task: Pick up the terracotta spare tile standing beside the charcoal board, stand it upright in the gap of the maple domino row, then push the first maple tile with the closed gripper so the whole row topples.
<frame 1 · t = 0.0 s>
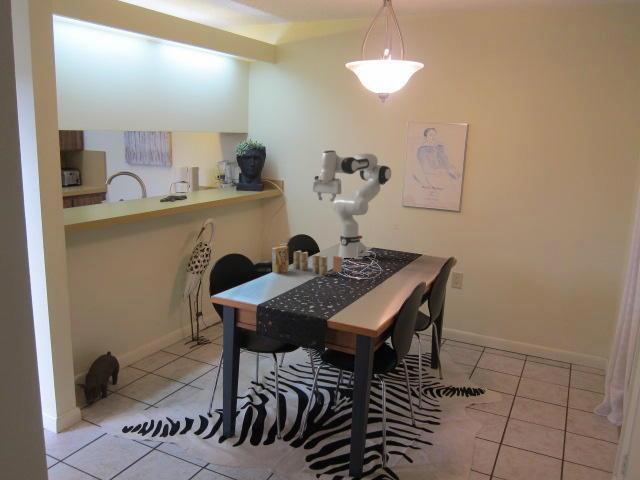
hand: (326, 200, 309), 39 cm above the table, tool pointing down, fingers open, 8 cm apart
spare tile: (337, 273, 294), on the table
slate board: (310, 273, 294), on the table
tile 4: (316, 272, 291), point 1 cm above the table, touching slate board
tile 1: (297, 268, 301), point 1 cm above the table, touching slate board
tile 5: (323, 274, 288), point 1 cm above the table, touching slate board
candy box: (280, 273, 294), on the table
tile 2: (303, 269, 297), point 1 cm above the table, touching slate board
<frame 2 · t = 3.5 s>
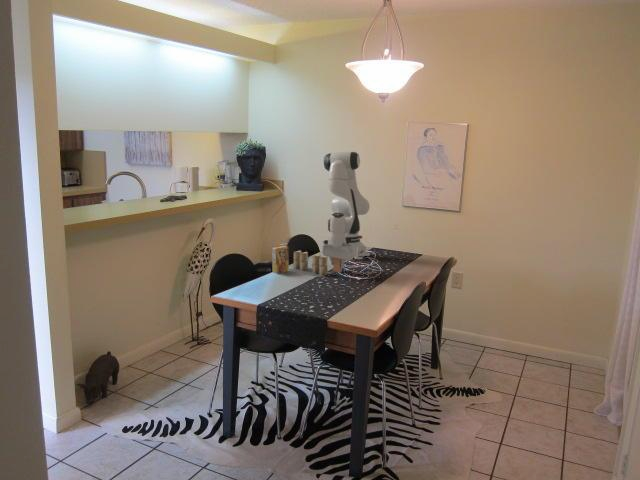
hand: (337, 265, 293), 5 cm above the table, tool pointing down, fingers closed on spare tile, 5 cm apart
spare tile: (337, 273, 294), on the table, touching gripper
everything else where it was.
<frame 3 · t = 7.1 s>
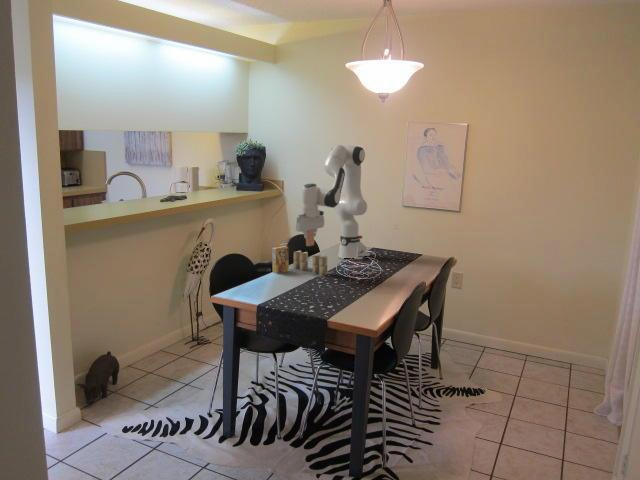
hand: (310, 237, 290), 21 cm above the table, tool pointing down, fingers closed on spare tile, 5 cm apart
spare tile: (310, 245, 291), point 16 cm above the table, touching gripper
everything else where it was.
when the fingers open (7 cm above the table, at t = 10.8 s): spare tile stays where it is, resting on slate board.
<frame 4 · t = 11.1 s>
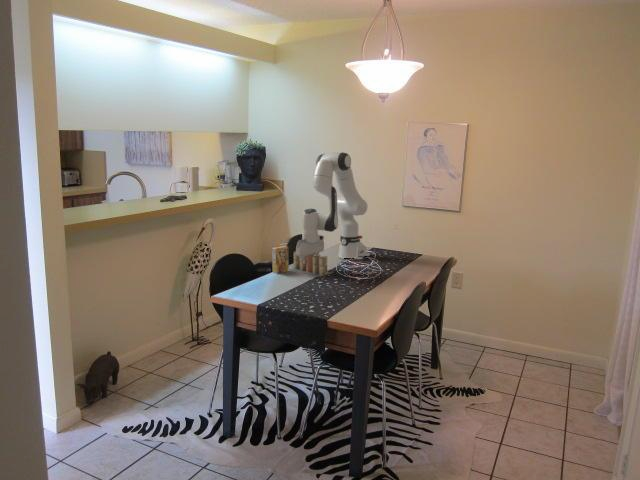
hand: (310, 261, 293), 7 cm above the table, tool pointing down, fingers open, 8 cm apart
spare tile: (310, 271, 294), point 1 cm above the table, touching slate board
everything else where it was.
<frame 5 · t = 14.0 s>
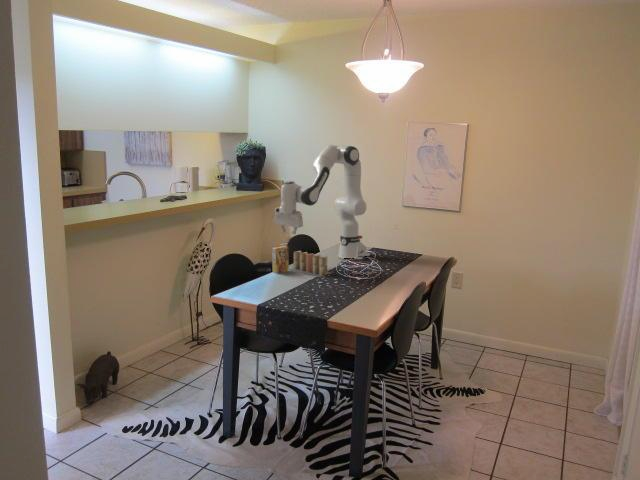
hand: (288, 233, 301), 21 cm above the table, tool pointing down, fingers open, 7 cm apart
nothing on the table moved.
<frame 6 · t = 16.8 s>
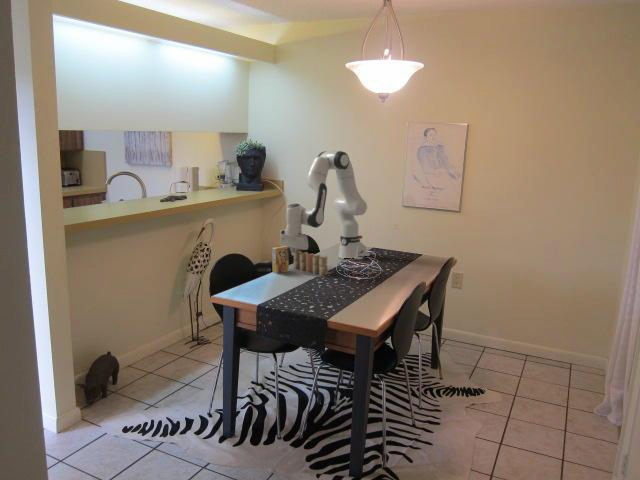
hand: (294, 255, 301), 9 cm above the table, tool pointing down, fingers closed
tile 1: (297, 268, 301), point 1 cm above the table, touching gripper, slate board
everything else where it was.
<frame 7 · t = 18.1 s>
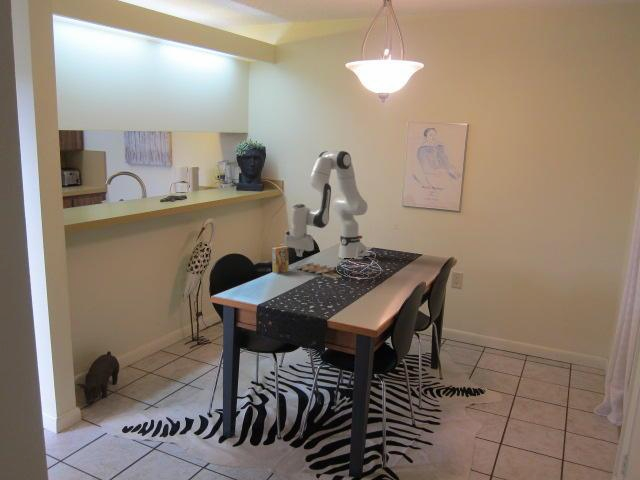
hand: (299, 256, 298), 9 cm above the table, tool pointing down, fingers closed
spare tile: (311, 270, 293), point 2 cm above the table, tilted 72°, touching slate board, tile 2, tile 4
tile 4: (318, 271, 290), point 2 cm above the table, tilted 71°, touching spare tile, tile 5
tile 1: (298, 267, 300), point 2 cm above the table, tilted 71°, touching slate board, tile 2
tile 5: (325, 273, 287), point 2 cm above the table, tilted 98°, touching slate board, tile 4
tile 2: (305, 268, 297), point 2 cm above the table, tilted 71°, touching spare tile, tile 1
everything else where it was.
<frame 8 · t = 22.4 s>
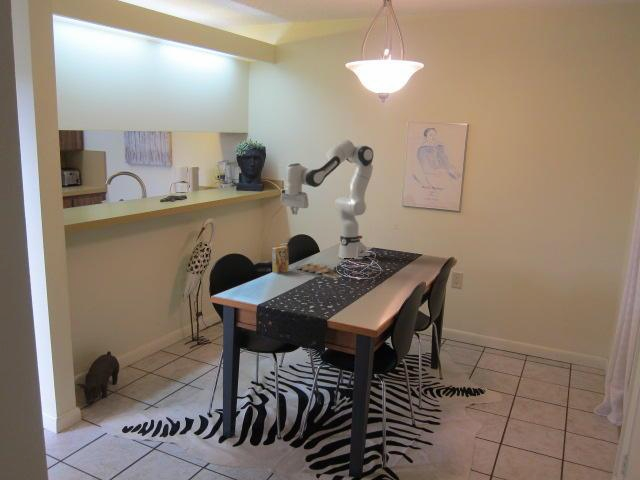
hand: (294, 214, 307), 31 cm above the table, tool pointing down, fingers closed
tile 4: (318, 271, 290), point 2 cm above the table, tilted 71°, touching slate board, spare tile, tile 5
everything else where it was.
at the end: tile 5 tilted 98°; spare tile inside the target area (0.1 cm from its centre), point 2.0 cm above the table; spare tile tilted 72° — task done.
